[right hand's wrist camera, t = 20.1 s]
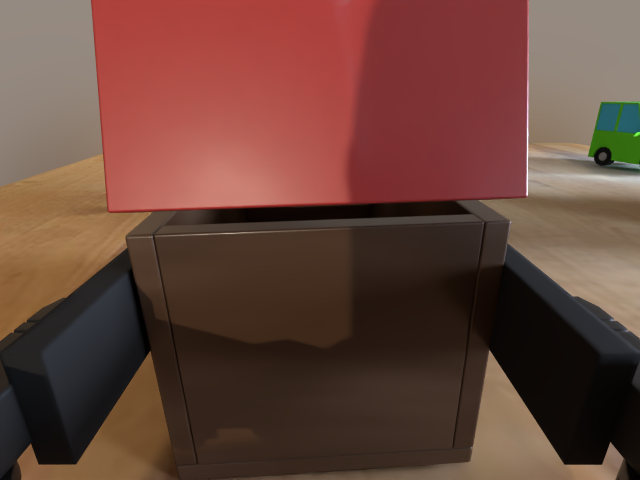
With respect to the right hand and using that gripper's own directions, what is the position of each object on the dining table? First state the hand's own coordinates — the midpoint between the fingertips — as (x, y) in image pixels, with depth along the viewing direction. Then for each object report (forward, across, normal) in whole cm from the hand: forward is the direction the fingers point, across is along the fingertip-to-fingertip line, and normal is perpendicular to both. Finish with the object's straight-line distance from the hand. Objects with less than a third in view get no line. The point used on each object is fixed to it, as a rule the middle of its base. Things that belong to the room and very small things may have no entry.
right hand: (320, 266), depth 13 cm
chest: (+5, 0, -6) cm, 8 cm away
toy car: (+50, +52, -6) cm, 72 cm away
